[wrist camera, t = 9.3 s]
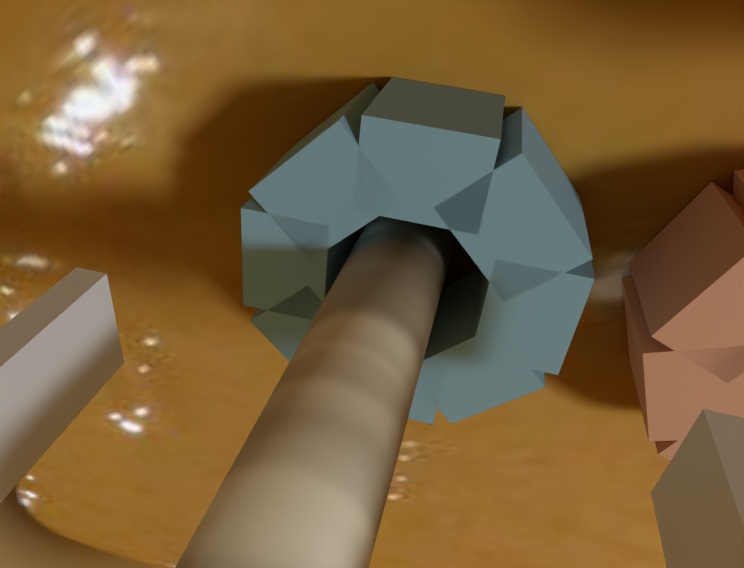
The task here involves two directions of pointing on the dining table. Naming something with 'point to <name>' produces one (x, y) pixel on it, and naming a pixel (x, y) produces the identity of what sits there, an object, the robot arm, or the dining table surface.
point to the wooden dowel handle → (333, 415)
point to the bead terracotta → (689, 316)
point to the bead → (434, 208)
